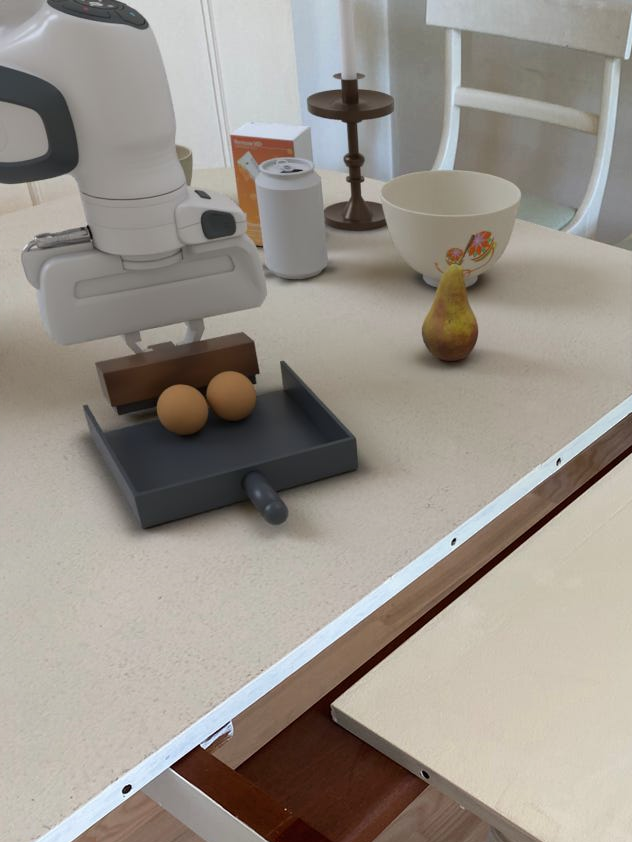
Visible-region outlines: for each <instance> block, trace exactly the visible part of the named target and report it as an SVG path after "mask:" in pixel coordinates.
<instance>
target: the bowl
mask: <svg viewBox="0 0 632 842" xmlns="http://www.w3.org/2000/svg"><path fill="white" fill-rule="evenodd" d="M379 198H380V204H382V207H383V211H384V215H385V219H386V223H387V225H386V227H387V229H388V233H389V236H390V239H391V243H392V244H393V246H394V248H395V250H396V251H397V253H398V255H399V256H400V258H401V259H402V260H403V261H404V262H405V263H406V264H407V265H408V266H409V267H410V268H412V269H413V270H414V271H416V272H418V273H419V274H421V275H422V279H423V281H424V282H425V283H426V284H427V285H429V286H430V287H433V288H436V289H437V288H438V285H439V282H440V280H441V277H442V275H443V273H444V272H445V270H446V269H447V268H448V267H449V266H451V264H457V263H458V261H459V259H460V258H461V256H462V254H463V253H464V250H465V248H466V246H467V244H468V242H469V240H470V238H471V236H472V235H475V238H474V240H473V242H472V243H471V245H470V246H469V248H468V250H467V252H466V254H465V256H464V258H463V260H462V261H461V264H460V265H461V267H462V268H463V275H464V279H465V285H466V288H470V287H471V286H473V285H474V284H475V283H476V282H477V281H478V278H479V277H478V276H479V275H482V274H483V273H485V272H486V271H487V270H490V268H491V267H492V266H494V265H495V264H496V263H497V262H498V261H499V260H500V258H501V257H502V255H503V254H504V253H505V251H506V249H507V247H508V245H509V243H510V239H511V236H512V235H513V230H514V227H515V223H516V219H517V216H518V212H519V208H520V205H521V199H522V191H521V190H520V188H519V187H518V186H517V185H515V183H513V182H511V181H509V180H507V179H505V178H502V177H499V176H496V175H492V174H489V173H484V172H478V171H472V170H461V169H460V170H459V169H458V170H457V169H434V170H424V171H415V172H411V173H407V174H403V175H399V176H396V177H394V178H391V179H390V180H388V181H386V182H385V183H384V184H383V185H382V186H381V187H380V189H379Z"/></svg>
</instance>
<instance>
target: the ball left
mask: <svg viewBox="0 0 632 842" xmlns="http://www.w3.org/2000/svg"><path fill="white" fill-rule="evenodd" d="M208 408H209V404H208V401H207V399H206V398H205V396H203V395H202V394H201V393H200V392H199V391H198V390H196V389H195V388H193V387H191V386H188V385H174V386H171V387H169V388H167V389H166V390H165V391H164V392H163V393H162V394H161V396H160V397H159V400H158V403H157V407H156V413H157V417H158V420H159V419H160V421H161V423H162V424H163V425H164V427H165V428H167V429H168V430H169V431H171V432H173V433H175V434H178V435H190V434H193V433H196V432H197V431H199V430H200V429H201V428H202V427H203V426H204V425H205V423H206V421H207V418H208Z"/></svg>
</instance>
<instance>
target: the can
mask: <svg viewBox="0 0 632 842" xmlns="http://www.w3.org/2000/svg"><path fill="white" fill-rule="evenodd" d="M315 168H316V167H315V163H314V162H313V163H312V162H311V161H309V160H306V159H301V158H292V157H287V158H275V159H270V160H267V161H265V162H262V163H261V164H260V165H259V170H261V172H260V173H259V175H258V176H257V177H256V179H255V185H256V193H257V201H258V209H259V216H260V224H261V232H262V240H263V246H262V247H263V255H264V263H265V267H266V268H267V269H268V270H269V271H271V272H272V273H273V274H274V275H275V276H277V277H279V278H282V279H287V280H304V279H310V278H313V277H316V276H318V275H320V274H321V273H322V271H323V270H324V269H325V268H326V267H327V266H328V264H329V257H328V256H329V255H328V246H327V233H326V223H325V219H324V210H325V207H324V196H323V186H322V185H323V184H322V183H323V182H322V177H321V176H320V174H318V173H317V171H316V170H315Z"/></svg>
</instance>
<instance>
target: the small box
mask: <svg viewBox="0 0 632 842" xmlns="http://www.w3.org/2000/svg"><path fill="white" fill-rule="evenodd" d="M311 127H312V126H310V125H296V124H295V125H294V124H288V123H280V122H279V123H278V122H262V121H261V122H260V121H247V122H245V123H244V124H242V125H240V127H238V128H237V129H235V130H234V131H232V132H231V133H230V134H229V137H230V146H231V153H232V154H231V155H232V162H233V169H234V179H235V184H236V194H237V202H238V206H239V207H240V208H241V209H242V211H243V212H244V214H245V215H246V219H247V230H246V232H245V234H246V235H247V236H248V237H249V238H250V239H251V240H252V241H253V242H254V244H255V245H256V247H257V246H258V247H263V240H262V232H261V224H260V216H259V209H258V201H257V193H256V185H255V179H256V177H257V176H258V175H259V173H260V172H261V170H259V165H260V164H261V163H262V162H265V161H267V160H270V159H275V158H287V157H292V158H301V159H306V160H309V161H311V162H312V163H313V164H314V156H313V144H312V129H311Z"/></svg>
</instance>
